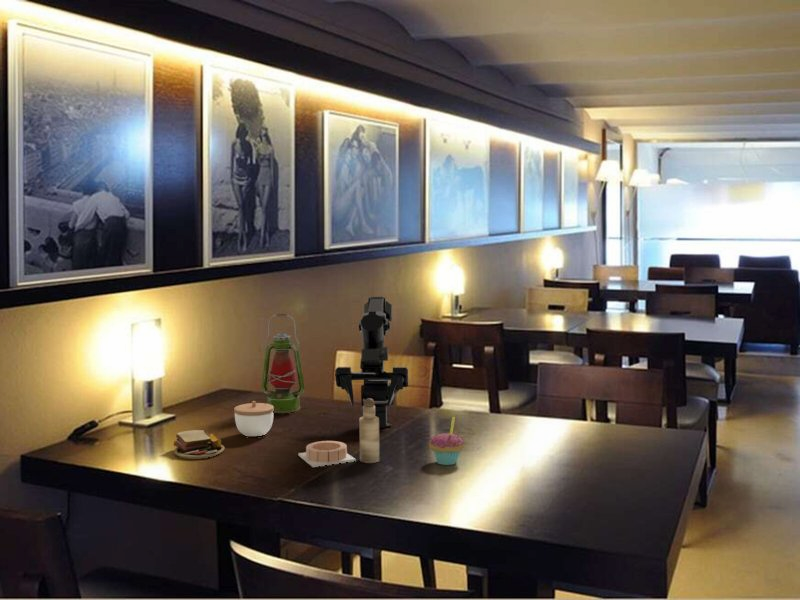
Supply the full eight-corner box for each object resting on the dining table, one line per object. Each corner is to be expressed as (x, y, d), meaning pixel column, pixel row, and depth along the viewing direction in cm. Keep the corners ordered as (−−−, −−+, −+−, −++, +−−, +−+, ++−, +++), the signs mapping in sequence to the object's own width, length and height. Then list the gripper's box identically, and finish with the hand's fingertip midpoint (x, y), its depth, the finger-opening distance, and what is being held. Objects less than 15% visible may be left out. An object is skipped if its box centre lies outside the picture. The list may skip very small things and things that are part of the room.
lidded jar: (282, 434, 230) (281, 401, 229) (250, 442, 223) (249, 407, 222) (258, 427, 238) (257, 395, 237) (226, 435, 230) (226, 401, 229)
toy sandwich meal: (180, 463, 205) (179, 444, 204) (168, 450, 217) (167, 432, 216) (230, 456, 211) (229, 438, 210) (216, 443, 222) (215, 426, 222)
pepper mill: (356, 458, 207) (356, 397, 205) (374, 456, 209) (374, 395, 207) (364, 464, 202) (363, 401, 201) (382, 461, 205) (382, 399, 203)
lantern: (256, 413, 255) (253, 315, 252) (267, 405, 266) (265, 311, 263) (299, 414, 253) (298, 316, 250) (310, 406, 263) (308, 312, 260)
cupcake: (467, 459, 206) (467, 411, 205) (458, 469, 198) (458, 419, 197) (434, 456, 209) (434, 408, 208) (424, 465, 201) (424, 416, 200)
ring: (298, 455, 210) (298, 443, 210) (339, 450, 215) (339, 438, 214) (312, 467, 200) (312, 454, 200) (355, 461, 205) (355, 449, 204)
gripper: (335, 336, 215) (330, 387, 205) (407, 335, 214) (407, 387, 204) (338, 361, 224) (334, 411, 214) (408, 361, 223) (407, 411, 213)
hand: (370, 404), depth 211 cm, fingers open, 9 cm apart
